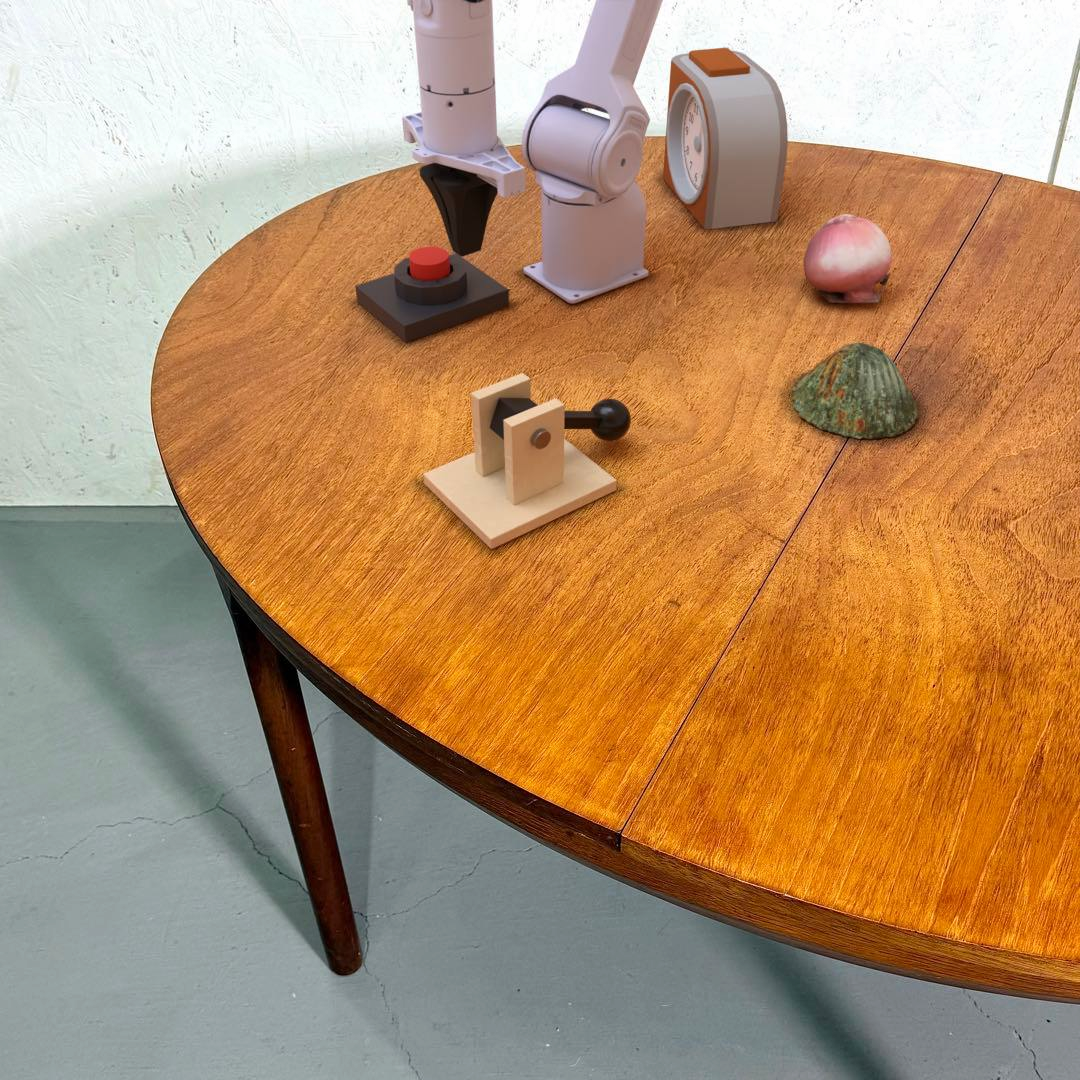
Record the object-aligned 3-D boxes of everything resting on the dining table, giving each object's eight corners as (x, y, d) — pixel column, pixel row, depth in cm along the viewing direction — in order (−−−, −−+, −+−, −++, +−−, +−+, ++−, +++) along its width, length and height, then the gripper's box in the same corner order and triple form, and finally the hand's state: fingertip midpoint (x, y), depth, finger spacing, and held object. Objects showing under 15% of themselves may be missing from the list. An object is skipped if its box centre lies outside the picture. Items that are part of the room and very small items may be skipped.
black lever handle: (604, 428, 83) (618, 391, 81) (630, 448, 81) (645, 410, 79) (483, 429, 75) (495, 388, 73) (508, 451, 73) (522, 410, 71)
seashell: (793, 379, 81) (812, 317, 88) (781, 423, 83) (800, 359, 90) (927, 412, 79) (935, 346, 86) (910, 456, 81) (919, 388, 89)
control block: (457, 269, 103) (455, 235, 101) (509, 306, 98) (508, 271, 96) (357, 302, 99) (352, 267, 96) (406, 343, 93) (402, 307, 91)
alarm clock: (655, 173, 120) (663, 47, 111) (726, 166, 122) (739, 40, 113) (701, 230, 109) (714, 95, 100) (778, 221, 111) (797, 87, 102)
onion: (851, 266, 103) (865, 195, 98) (903, 301, 98) (921, 228, 93) (782, 284, 101) (794, 212, 96) (833, 321, 95) (848, 247, 91)
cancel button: (437, 260, 98) (435, 242, 97) (457, 275, 96) (456, 257, 95) (403, 271, 97) (401, 253, 95) (423, 286, 94) (422, 268, 93)
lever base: (544, 432, 83) (544, 345, 78) (616, 490, 78) (621, 401, 72) (423, 484, 78) (414, 395, 73) (491, 550, 73) (486, 459, 68)
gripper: (362, 68, 82) (381, 232, 91) (466, 122, 74) (475, 298, 83) (439, 50, 85) (450, 211, 94) (547, 100, 77) (548, 272, 86)
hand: (467, 250), depth 89 cm, fingers closed
